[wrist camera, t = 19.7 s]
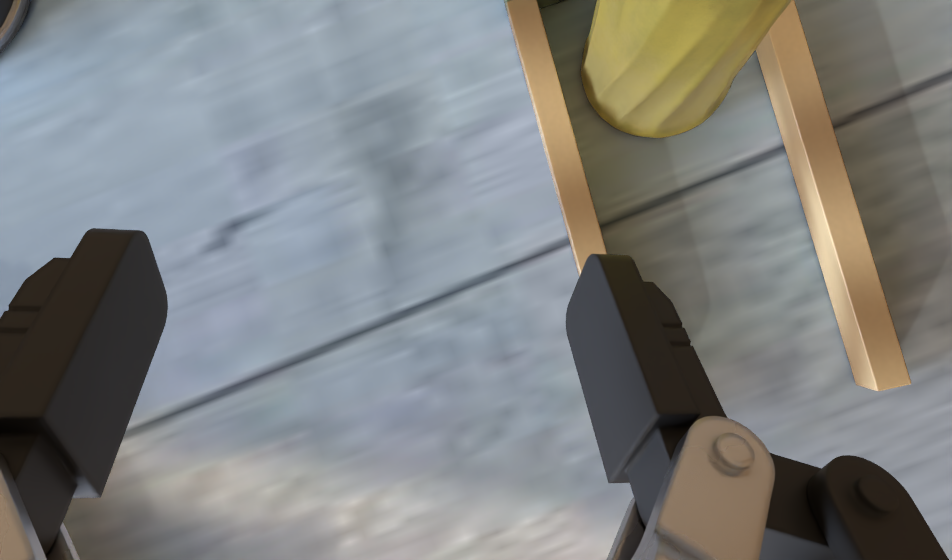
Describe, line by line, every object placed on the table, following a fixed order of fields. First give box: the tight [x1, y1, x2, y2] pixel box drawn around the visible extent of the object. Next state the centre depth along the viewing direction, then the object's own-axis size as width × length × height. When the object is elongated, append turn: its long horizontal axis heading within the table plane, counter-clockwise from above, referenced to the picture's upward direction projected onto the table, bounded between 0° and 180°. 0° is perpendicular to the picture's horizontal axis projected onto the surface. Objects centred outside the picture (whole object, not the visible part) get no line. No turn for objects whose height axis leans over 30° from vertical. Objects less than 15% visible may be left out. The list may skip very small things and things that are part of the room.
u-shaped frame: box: [504, 0, 911, 391], centre depth 22 cm, size 20×10×2 cm, turn 15°
